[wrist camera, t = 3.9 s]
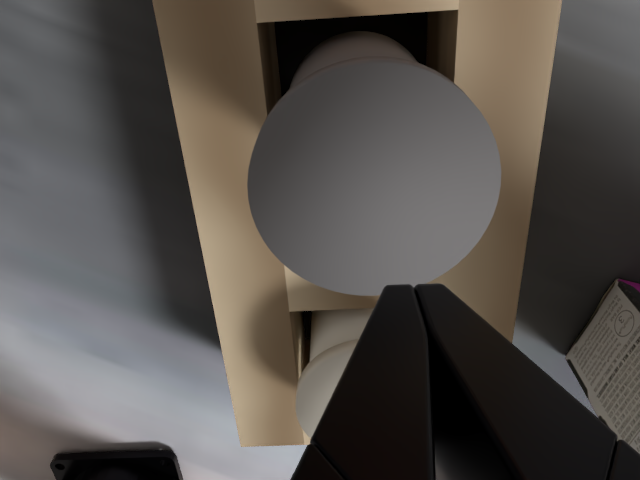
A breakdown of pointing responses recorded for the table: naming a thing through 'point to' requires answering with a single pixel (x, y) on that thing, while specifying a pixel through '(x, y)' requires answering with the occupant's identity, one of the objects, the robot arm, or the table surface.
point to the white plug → (327, 360)
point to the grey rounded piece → (372, 169)
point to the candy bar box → (612, 361)
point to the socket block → (240, 137)
